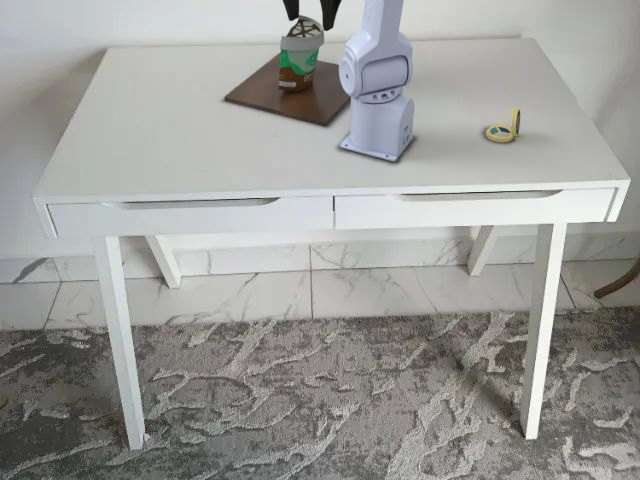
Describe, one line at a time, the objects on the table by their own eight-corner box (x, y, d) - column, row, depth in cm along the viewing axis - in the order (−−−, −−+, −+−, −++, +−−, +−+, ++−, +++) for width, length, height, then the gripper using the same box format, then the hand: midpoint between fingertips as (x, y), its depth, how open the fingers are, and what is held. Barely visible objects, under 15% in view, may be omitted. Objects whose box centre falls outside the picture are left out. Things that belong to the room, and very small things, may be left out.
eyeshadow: (488, 125, 109) (493, 99, 106) (519, 131, 107) (525, 104, 104) (483, 139, 106) (488, 112, 103) (514, 145, 104) (520, 118, 101)
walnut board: (373, 76, 123) (373, 72, 122) (325, 126, 109) (325, 122, 109) (280, 55, 130) (280, 51, 129) (224, 100, 116) (224, 96, 116)
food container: (310, 100, 114) (316, 44, 108) (276, 92, 114) (280, 36, 108) (325, 72, 123) (332, 20, 117) (294, 66, 124) (299, 13, 118)
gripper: (258, -59, 108) (264, 22, 117) (331, -43, 101) (331, 41, 110) (285, -70, 112) (289, 9, 121) (356, -55, 105) (354, 27, 114)
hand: (310, 23), depth 116 cm, fingers open, 7 cm apart
